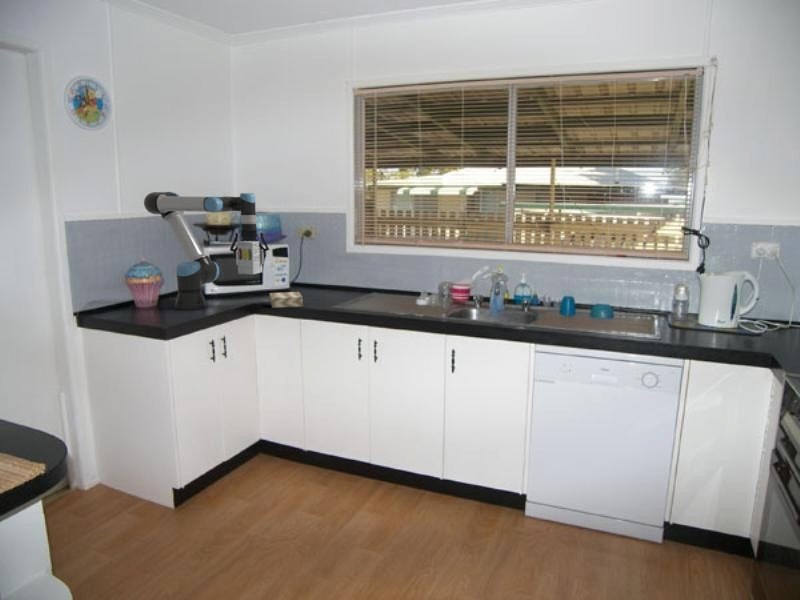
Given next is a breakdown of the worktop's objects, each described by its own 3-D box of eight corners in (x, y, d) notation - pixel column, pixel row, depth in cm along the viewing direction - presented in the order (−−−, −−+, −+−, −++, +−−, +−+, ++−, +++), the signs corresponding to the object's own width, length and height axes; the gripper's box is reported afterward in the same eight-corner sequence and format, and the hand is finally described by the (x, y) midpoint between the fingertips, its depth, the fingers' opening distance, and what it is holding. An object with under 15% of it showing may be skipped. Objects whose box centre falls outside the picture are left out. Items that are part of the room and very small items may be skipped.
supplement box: (237, 273, 296) (236, 241, 292) (247, 271, 304) (246, 240, 301) (253, 274, 293) (252, 242, 290) (263, 272, 302) (261, 240, 298)
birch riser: (272, 307, 297) (272, 298, 296) (269, 301, 312) (269, 293, 311) (302, 306, 302) (302, 297, 301) (299, 300, 317) (298, 291, 316)
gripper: (223, 223, 286) (225, 265, 291) (273, 223, 294) (274, 264, 298) (223, 222, 293) (225, 263, 298) (272, 222, 301) (273, 262, 305)
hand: (250, 264), depth 298 cm, fingers closed on supplement box, 12 cm apart
